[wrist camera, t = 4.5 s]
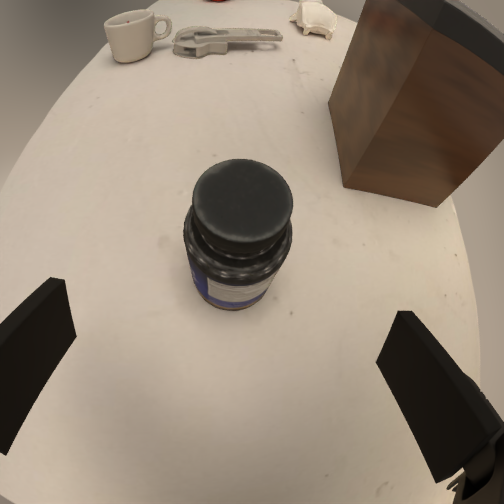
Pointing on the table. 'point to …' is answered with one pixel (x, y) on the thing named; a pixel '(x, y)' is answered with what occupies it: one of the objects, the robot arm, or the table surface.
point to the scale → (462, 28)
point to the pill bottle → (237, 232)
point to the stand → (412, 108)
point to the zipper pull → (216, 40)
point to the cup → (134, 34)
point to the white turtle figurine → (315, 18)
